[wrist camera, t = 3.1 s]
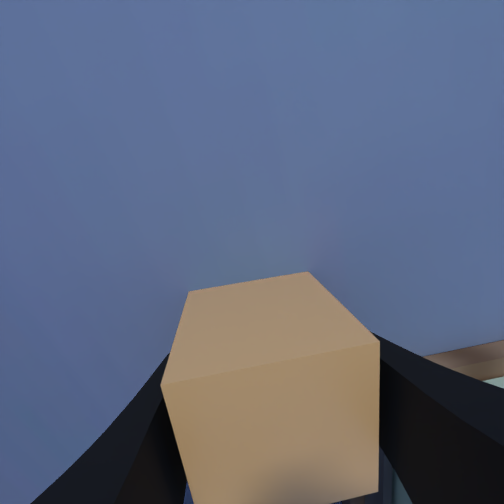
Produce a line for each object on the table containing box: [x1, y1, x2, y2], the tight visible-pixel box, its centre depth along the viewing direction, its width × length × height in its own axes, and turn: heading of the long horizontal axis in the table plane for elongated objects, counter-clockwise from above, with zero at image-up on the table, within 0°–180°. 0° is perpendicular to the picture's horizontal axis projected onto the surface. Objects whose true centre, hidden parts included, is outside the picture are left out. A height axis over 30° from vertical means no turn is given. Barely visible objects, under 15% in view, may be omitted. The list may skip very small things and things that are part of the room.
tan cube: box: [161, 272, 380, 504], centre depth 9 cm, size 5×5×5 cm
